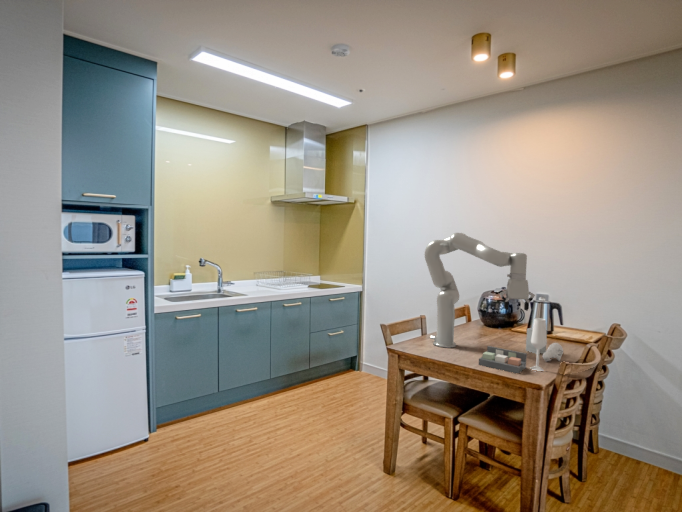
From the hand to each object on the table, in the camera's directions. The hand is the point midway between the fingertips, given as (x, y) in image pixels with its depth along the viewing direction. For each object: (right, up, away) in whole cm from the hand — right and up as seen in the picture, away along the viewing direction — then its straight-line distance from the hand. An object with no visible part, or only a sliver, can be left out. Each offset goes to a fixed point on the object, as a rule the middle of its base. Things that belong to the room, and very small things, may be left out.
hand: (516, 309), depth 208 cm
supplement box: (+16, -25, +11) cm, 31 cm away
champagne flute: (+1, -26, -19) cm, 32 cm away
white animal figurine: (+16, -26, -3) cm, 30 cm away
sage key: (-19, -22, -14) cm, 32 cm away
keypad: (-14, -25, -16) cm, 33 cm away
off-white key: (-15, -22, -17) cm, 32 cm away
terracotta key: (-10, -22, -21) cm, 33 cm away
